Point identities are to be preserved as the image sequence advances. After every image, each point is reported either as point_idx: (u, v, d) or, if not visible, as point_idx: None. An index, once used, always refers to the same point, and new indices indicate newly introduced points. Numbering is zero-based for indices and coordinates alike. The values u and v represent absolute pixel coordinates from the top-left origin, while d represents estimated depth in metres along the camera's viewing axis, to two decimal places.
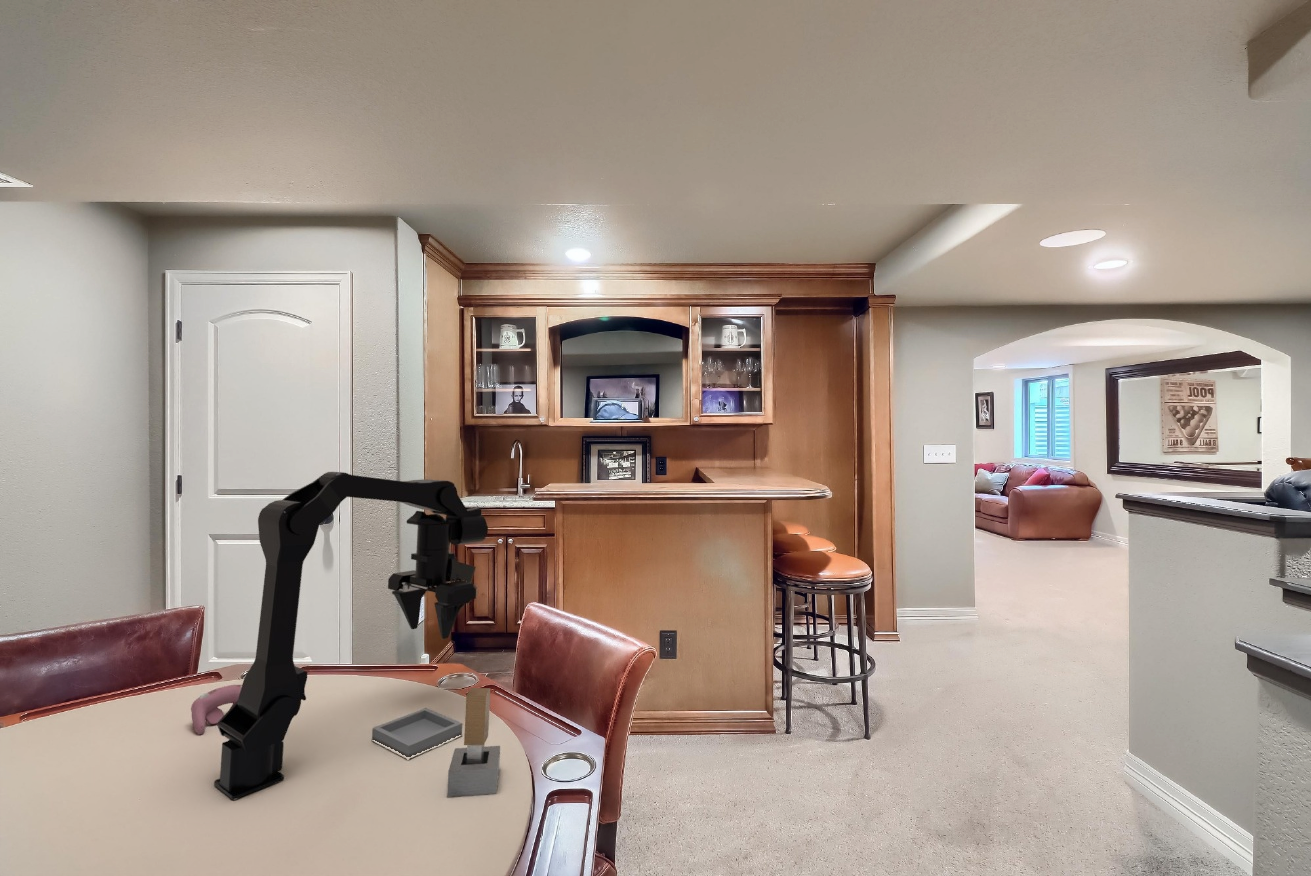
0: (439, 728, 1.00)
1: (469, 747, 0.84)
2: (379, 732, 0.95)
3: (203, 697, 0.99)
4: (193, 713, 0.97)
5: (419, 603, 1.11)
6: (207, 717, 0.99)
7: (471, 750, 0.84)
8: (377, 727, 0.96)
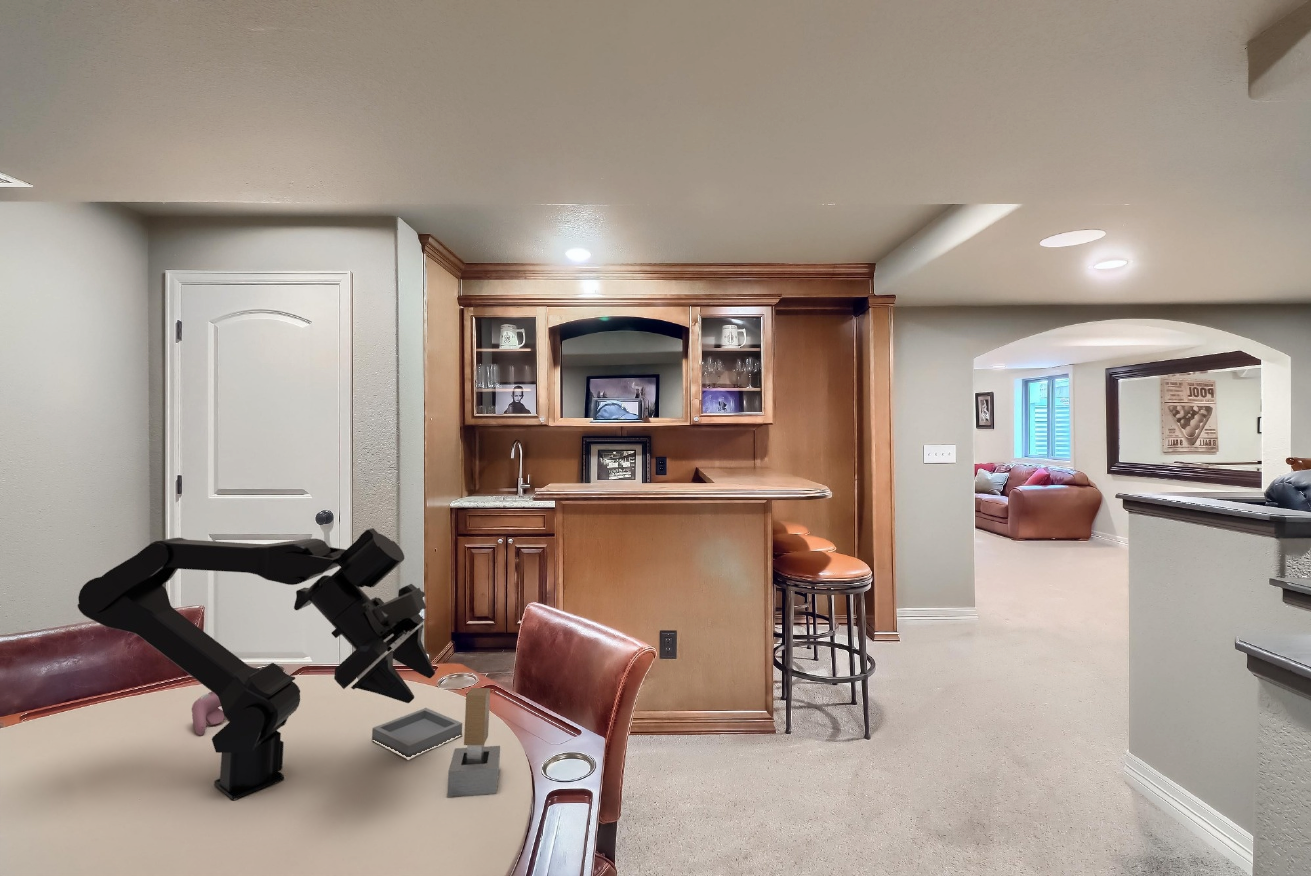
0: (439, 728, 1.00)
1: (469, 747, 0.84)
2: (379, 732, 0.95)
3: (204, 697, 0.99)
4: (194, 714, 0.97)
5: (418, 648, 0.90)
6: (207, 717, 0.99)
7: (471, 750, 0.84)
8: (377, 727, 0.96)
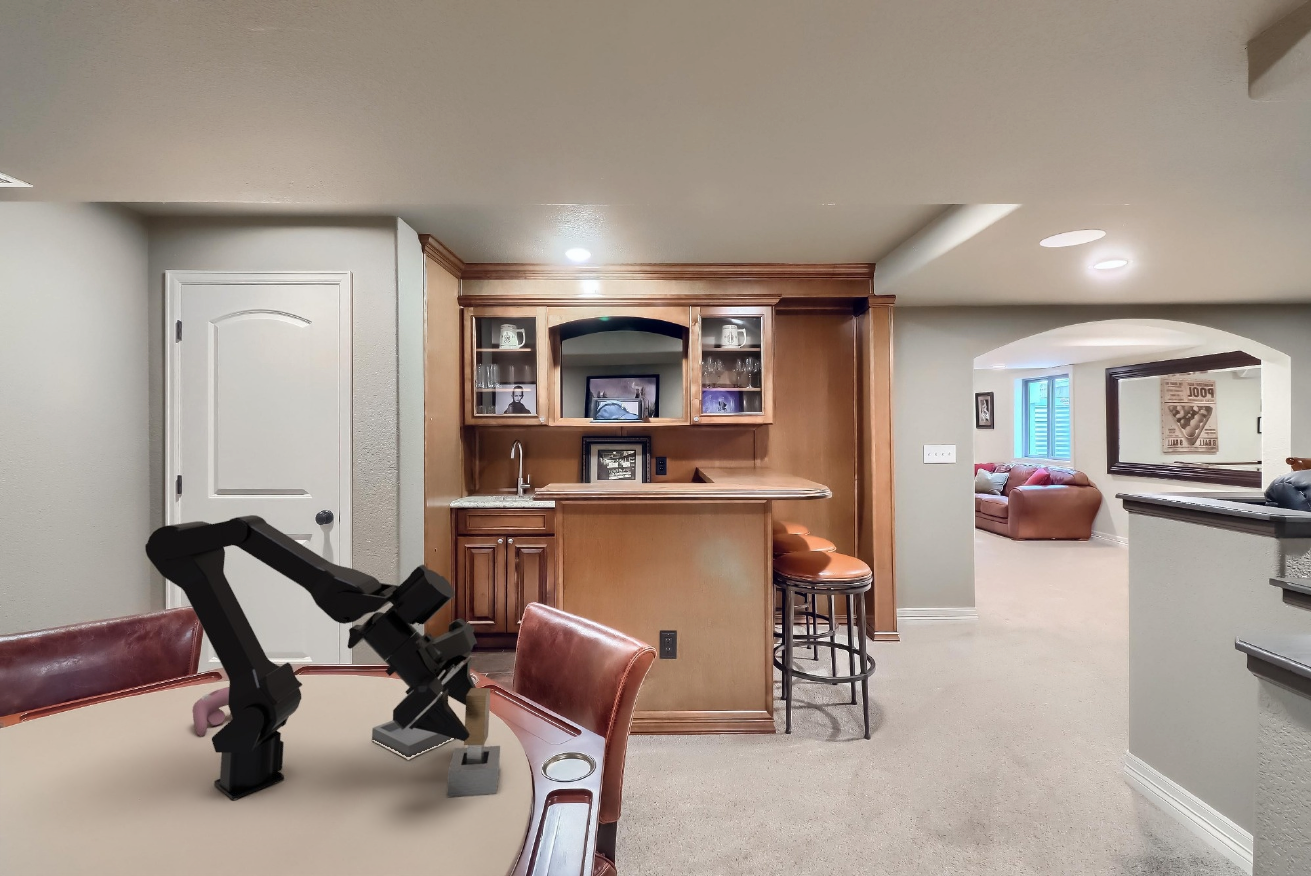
0: None
1: (469, 747, 0.84)
2: (379, 732, 0.95)
3: (204, 698, 0.99)
4: (194, 714, 0.97)
5: (468, 682, 0.90)
6: (208, 718, 0.99)
7: (471, 750, 0.84)
8: (377, 727, 0.96)
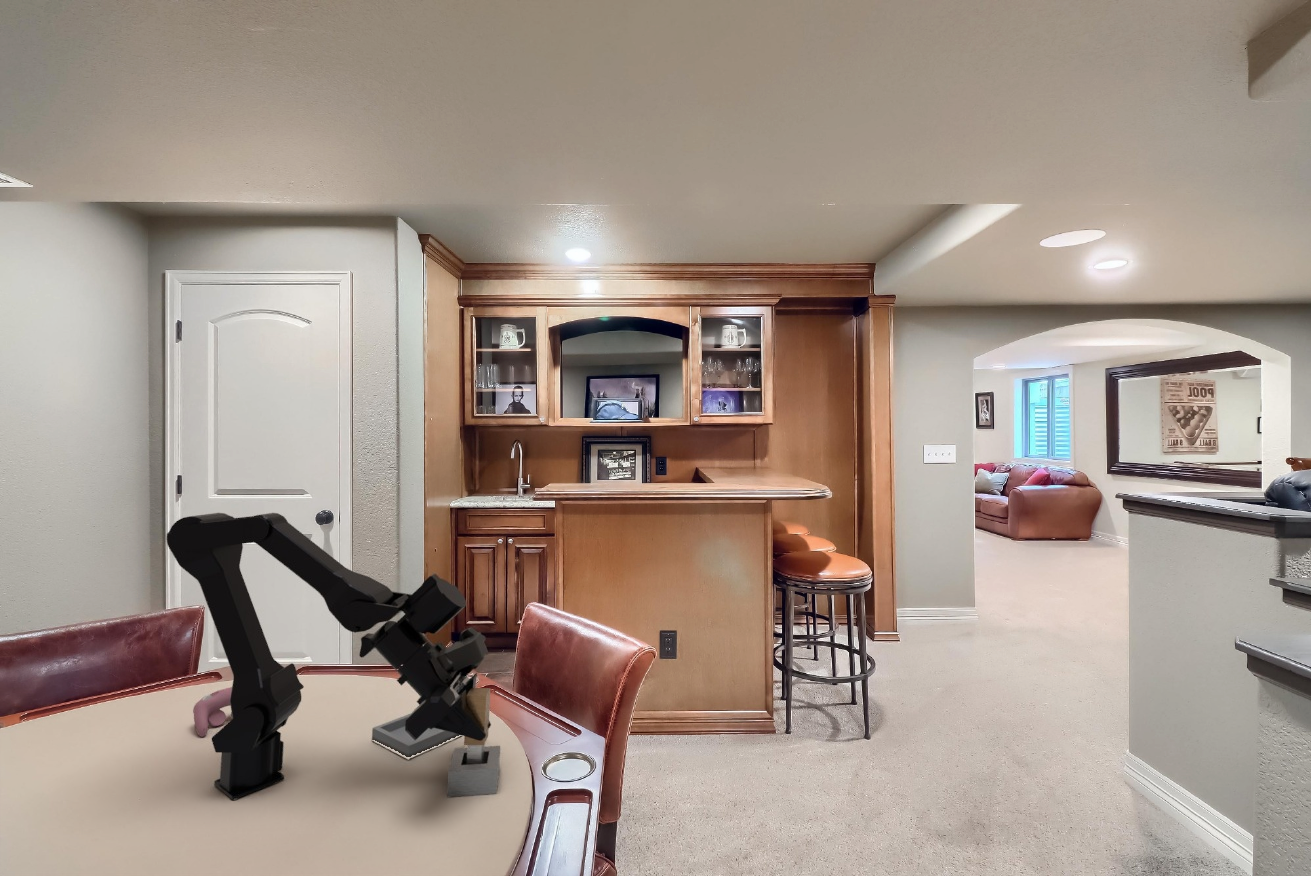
0: None
1: (469, 747, 0.84)
2: (379, 732, 0.95)
3: (205, 699, 0.98)
4: (195, 715, 0.97)
5: None
6: (209, 719, 0.98)
7: (471, 750, 0.84)
8: (377, 727, 0.96)
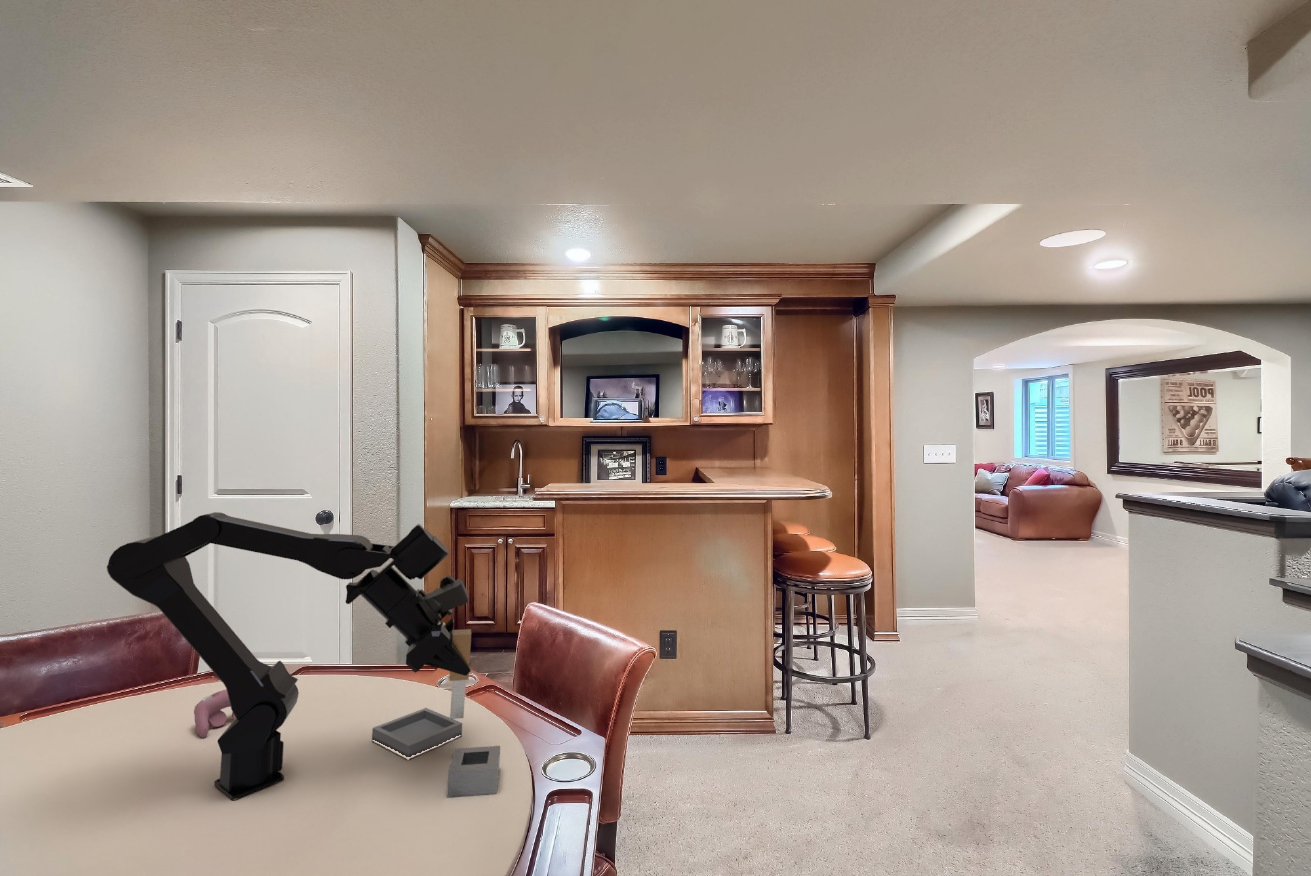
0: (439, 728, 1.00)
1: (454, 683, 0.91)
2: (379, 732, 0.95)
3: (206, 700, 0.98)
4: (196, 716, 0.96)
5: None
6: (210, 720, 0.98)
7: (456, 685, 0.91)
8: (377, 727, 0.96)
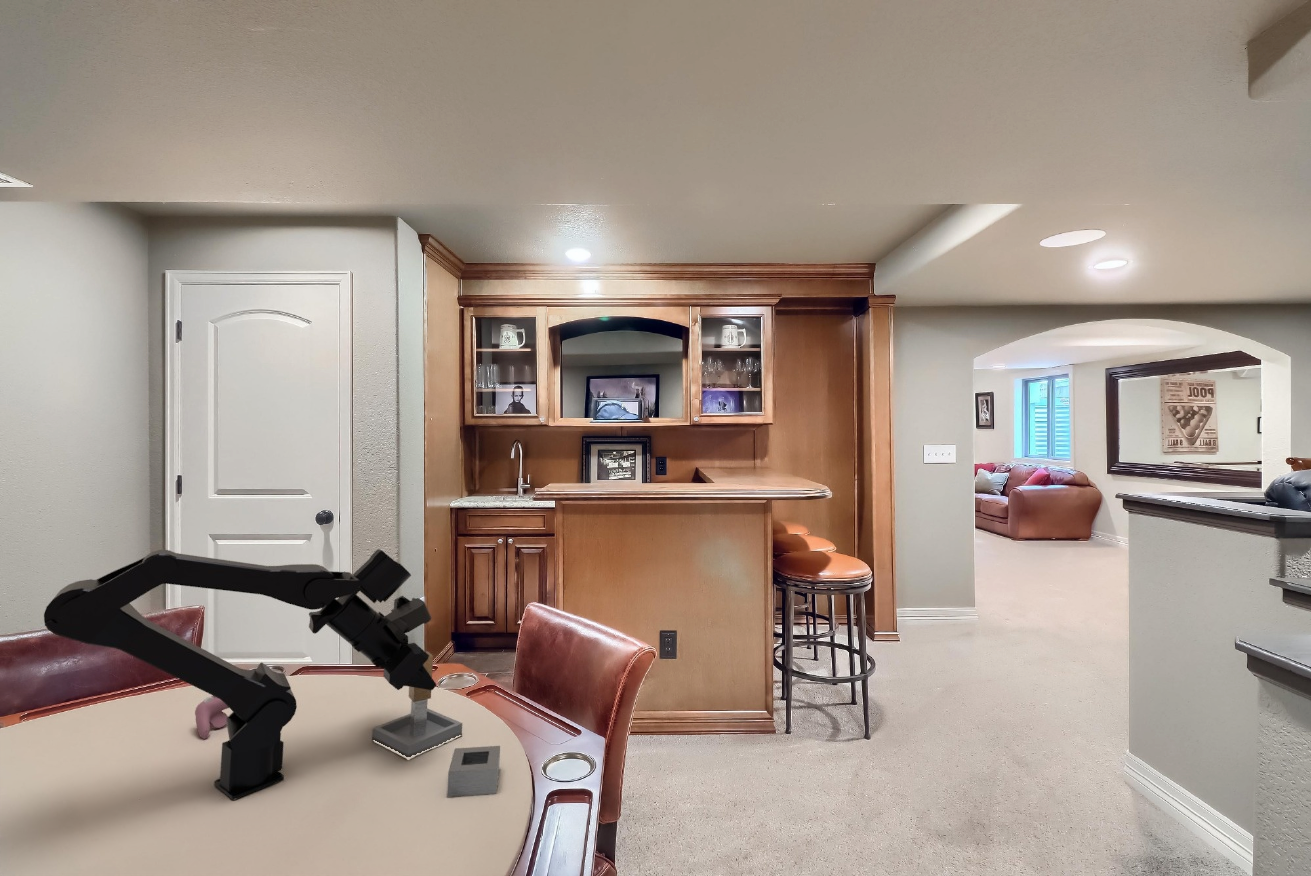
0: (439, 728, 1.00)
1: (417, 703, 0.96)
2: (379, 732, 0.95)
3: (207, 701, 0.98)
4: (197, 717, 0.96)
5: None
6: (211, 721, 0.98)
7: (418, 705, 0.97)
8: (377, 727, 0.96)
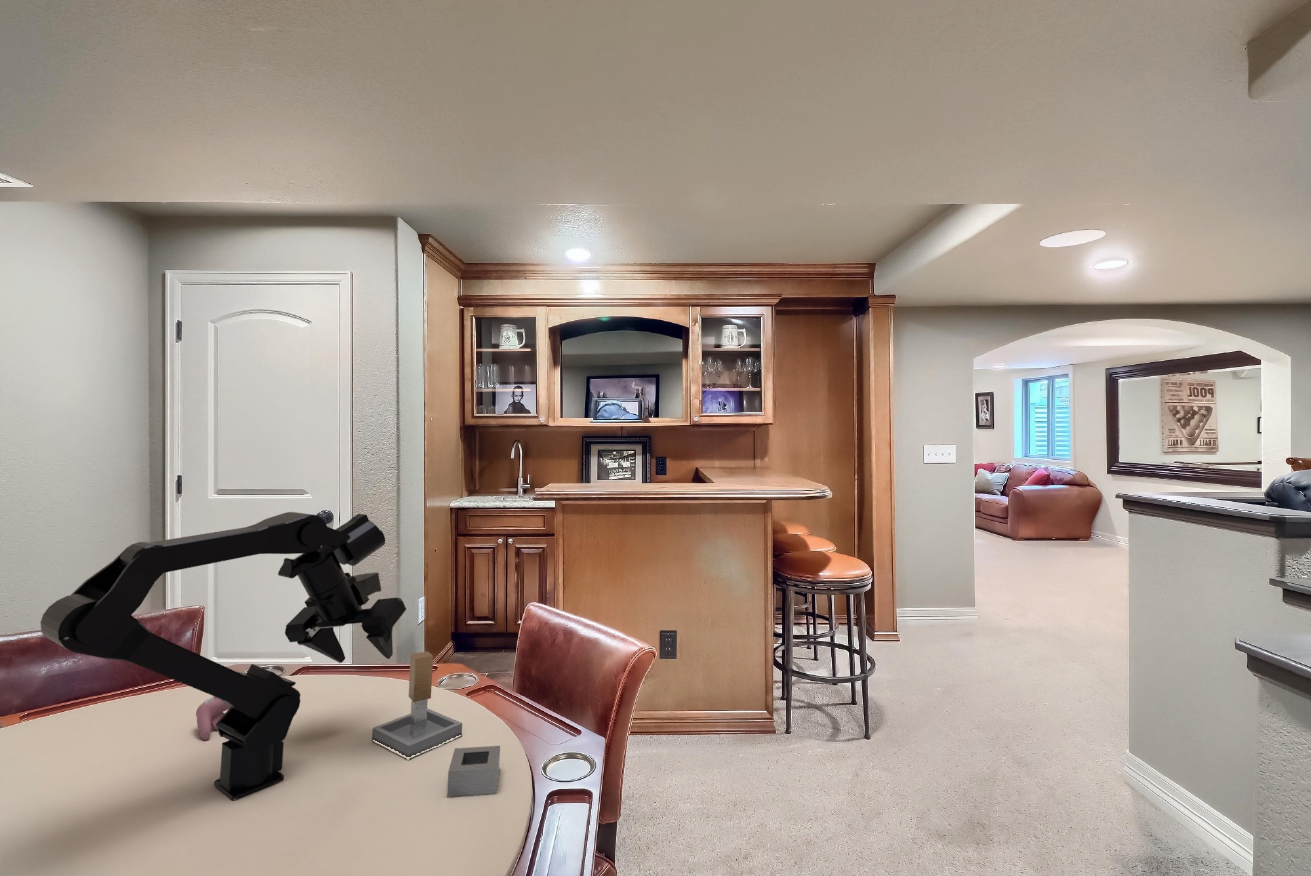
0: (439, 728, 1.00)
1: (417, 703, 0.96)
2: (379, 732, 0.95)
3: (208, 702, 0.97)
4: (198, 718, 0.96)
5: (333, 635, 0.98)
6: (212, 722, 0.97)
7: (418, 705, 0.97)
8: (377, 727, 0.96)
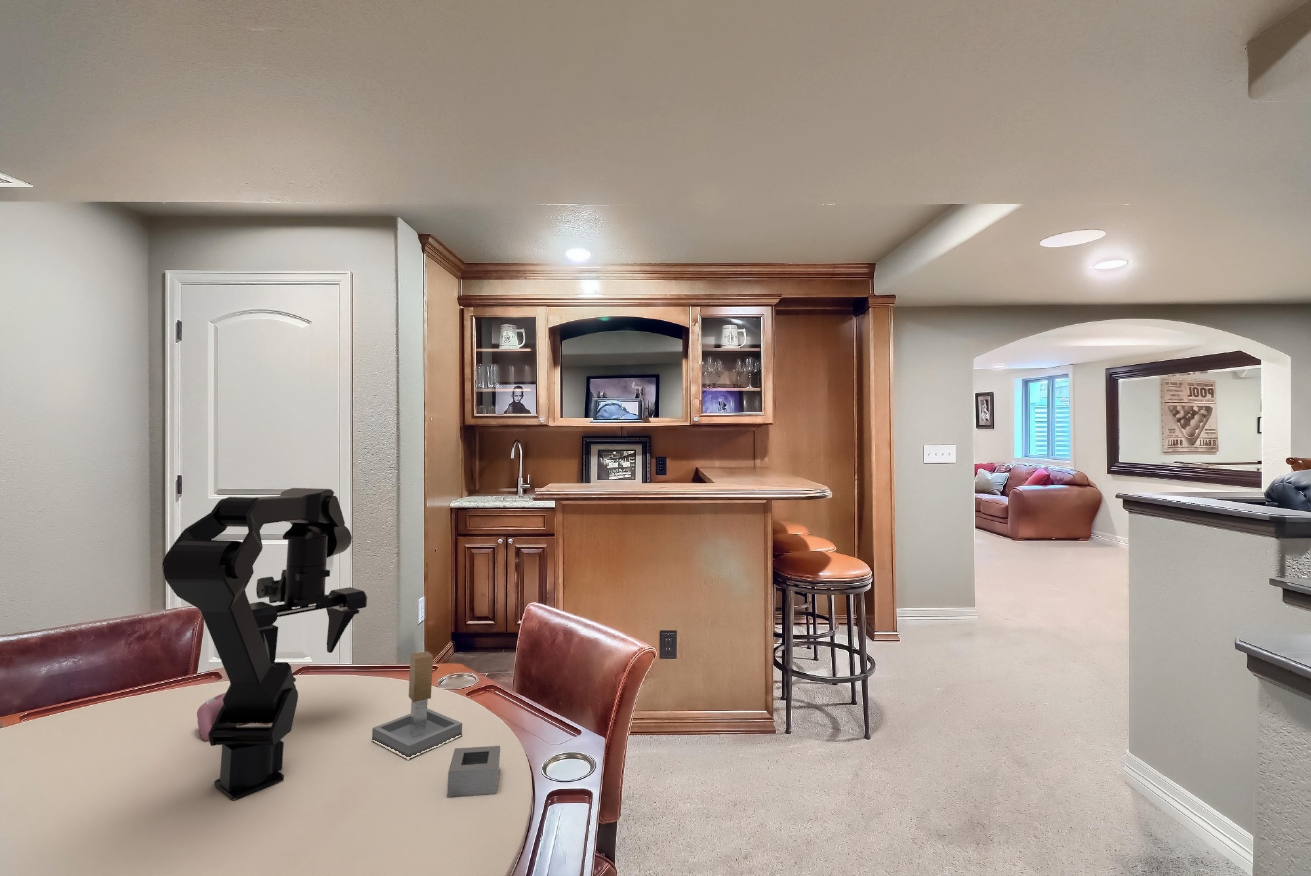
0: (439, 728, 1.00)
1: (417, 703, 0.96)
2: (379, 732, 0.95)
3: (209, 702, 0.97)
4: (199, 719, 0.95)
5: None
6: (213, 723, 0.97)
7: (418, 705, 0.97)
8: (377, 727, 0.96)
